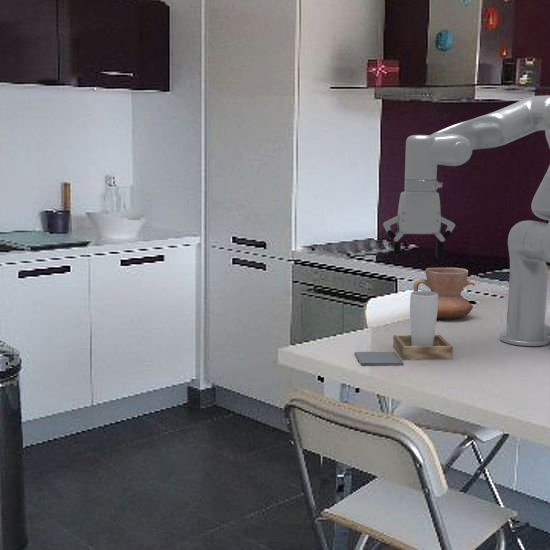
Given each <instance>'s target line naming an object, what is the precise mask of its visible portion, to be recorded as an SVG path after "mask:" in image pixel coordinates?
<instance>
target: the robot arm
mask: <svg viewBox="0 0 550 550" xmlns="http://www.w3.org/2000/svg"><path fill="white" fill-rule="evenodd" d="M540 131H545V132H544V133H545V138H546V142H547V144H548V147H549V148H550V95H534V96H529V97H526V98H523V99H522V100H519V101H516V102H515V103H512V104H510V105H508V106H505V107H503V108H500V109H498V110H495V111H493V112H489V113H487V114H484V115H481V116H477V117H475V118H471V119H468V120H465V121H461V122H458V123H456V124H452V125H450V126H448V127H445V128H442V129H440V130H438V131H436V132H433V133H432V134H428V135H427V134H413V135H410V136H408V137H407V138H406V141H405V159H404V160H405V161H404V162H405V163H404V164H405V165H404V190H403V191H402V192H401V191H400V192H401V193H400V195H399V202H398V209H397V215H396V216H394V217H392V218H390V219H388V220H386V221H384V222H383V223H382V225H383V228H384V229H385V231H386V233H387V235H388V236H389V237H390V238H391V239H392V240H393V255H395V256H396V258H397V259H400V258H401V253H402V252H401V248H402V247H401V246H402V242H401V238H402V237H404V235H434V236H435V237H436V241H435V251H434V255H435V257H436V258H437V259H440V258H441V255H443V253H444V242H445V241H446V240H447V238H449V237H450V236H451V235H452V233H453V230H454V229H455V227H456V224H455V223H454V222H453V221H451V220H449V219H446V218H445V217H443V216H442V215H441V214H442V213H441V201H440V200H441V199H440V193H439V192H437V191H438V190H439V189H442V188H443V182H441V181H439V180H438V179H437V174H438V173H437V171H438V165H440V166H447V167H449V166H450V167H451V166H452V167H458V166H461V165H463V164H465V163H466V162H468V161H469V160H470V159H471V156H472V154H473V151H475V150H481V149H482V150H483V149H492V148H498V147H501V146H505V145H507V144H509V143H511V142H514V141H516V140H518V139H521V138H523V137H526V136H528V135H530V134H533V133H535V132H540ZM530 208H531V211H532V213H533V215H535V216H536V217H537V218H539V219H542V220H545V221H548V223H547V222H543V221H537V220H529V219H528V220H522V221H518V222H517V223H515V224H514V225H513V226H512V227H511V228H510V231H509V233H508V236H507V237H508V238H507V247H508V248H507V249H508V256H509V279H508V280H509V281H508V297H507V298H508V299H507V312H506V313H507V314H506V315H507V316H506V329H505V331H503V332H501V333H499V340H500V341H502V342H504V343H506V344H510V345H515V346H520V347H521V346H522V347H540V346H541V347H543V346H546V345H549V344H550V326H549V325H547V324H545V320H546V308H547V306H546V305H547V292H548V282H549V281H548V280H549V279H548V278H549V272H548V267H547V263H550V165H549V166H548V168H547V170H546V172H545V174H544V176H543V179H542V181H541V182H540V184H539V186H538V188H537V190H536V192H535V194H534V196H533V199H532V201H531V207H530ZM395 224H396V227H397V231H396V232H395V233H394V231H393V230H392V228H391V226H392V225H395ZM442 224H444V225H446V226H447V227H446V228H445V229H446V230H445V231H443V232H442V233H441V228H442Z"/></svg>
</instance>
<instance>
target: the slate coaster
mask: <svg viewBox="0 0 550 550" xmlns="http://www.w3.org/2000/svg"><path fill="white" fill-rule="evenodd" d="M354 356H355V358H356V359H357V361H358V362H359V364H360V365H361V367H363V366H370V367H371V366H376V367H377V366H404V365H405V364H404V363H405V362H404V361H403V359H401V356H400V355H399V354H398V353H397V351H354Z"/></svg>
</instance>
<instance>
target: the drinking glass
mask: <svg viewBox="0 0 550 550" xmlns="http://www.w3.org/2000/svg"><path fill="white" fill-rule="evenodd" d="M409 298H410V299H409V321H410V322H409V323H410V335H411V346H433V343H434V335H436V327H437V325H436V324H437V320H438V319H437V312H438V294H437V293H435V292H431V290H430V291H429V290H428V291H427V290H418V291H412V292H410V297H409Z"/></svg>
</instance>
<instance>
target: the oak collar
mask: <svg viewBox="0 0 550 550" xmlns="http://www.w3.org/2000/svg"><path fill="white" fill-rule="evenodd" d="M392 338H393V339H392V340H393V341H392V344H393V345H392V347H393V349H394V350H395V352H396V353H397V355H398V356H399V357H400V358H402V359H401V360H453V352H454V351H453V350H454V347H453V346H452V344H450V343H449V341H447V340H446V339H445V338H444V337H443V336H442V335H441V334H435V335H434V343H433V346H411V334H393V337H392Z"/></svg>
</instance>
